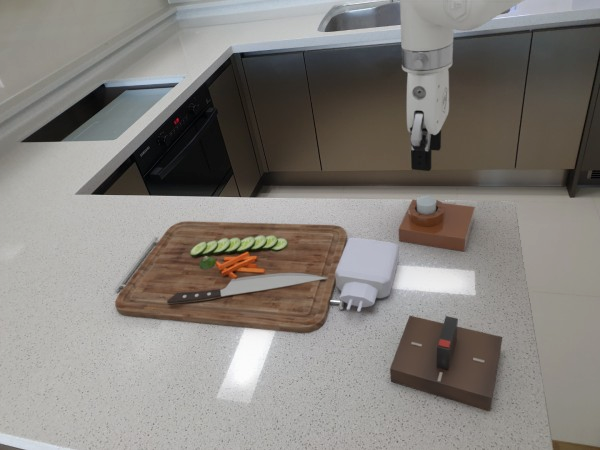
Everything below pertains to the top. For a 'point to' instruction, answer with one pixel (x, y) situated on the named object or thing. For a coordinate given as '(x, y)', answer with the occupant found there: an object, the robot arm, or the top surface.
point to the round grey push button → (426, 205)
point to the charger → (366, 271)
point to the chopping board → (237, 275)
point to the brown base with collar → (438, 226)
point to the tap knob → (447, 342)
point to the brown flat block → (463, 368)
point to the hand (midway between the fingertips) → (426, 158)
